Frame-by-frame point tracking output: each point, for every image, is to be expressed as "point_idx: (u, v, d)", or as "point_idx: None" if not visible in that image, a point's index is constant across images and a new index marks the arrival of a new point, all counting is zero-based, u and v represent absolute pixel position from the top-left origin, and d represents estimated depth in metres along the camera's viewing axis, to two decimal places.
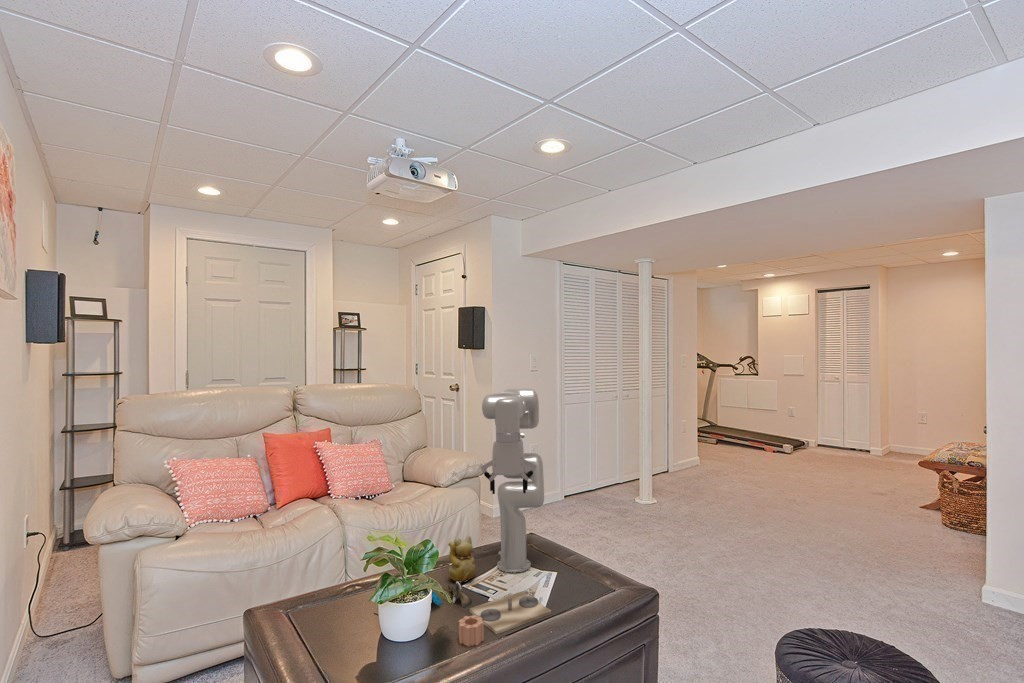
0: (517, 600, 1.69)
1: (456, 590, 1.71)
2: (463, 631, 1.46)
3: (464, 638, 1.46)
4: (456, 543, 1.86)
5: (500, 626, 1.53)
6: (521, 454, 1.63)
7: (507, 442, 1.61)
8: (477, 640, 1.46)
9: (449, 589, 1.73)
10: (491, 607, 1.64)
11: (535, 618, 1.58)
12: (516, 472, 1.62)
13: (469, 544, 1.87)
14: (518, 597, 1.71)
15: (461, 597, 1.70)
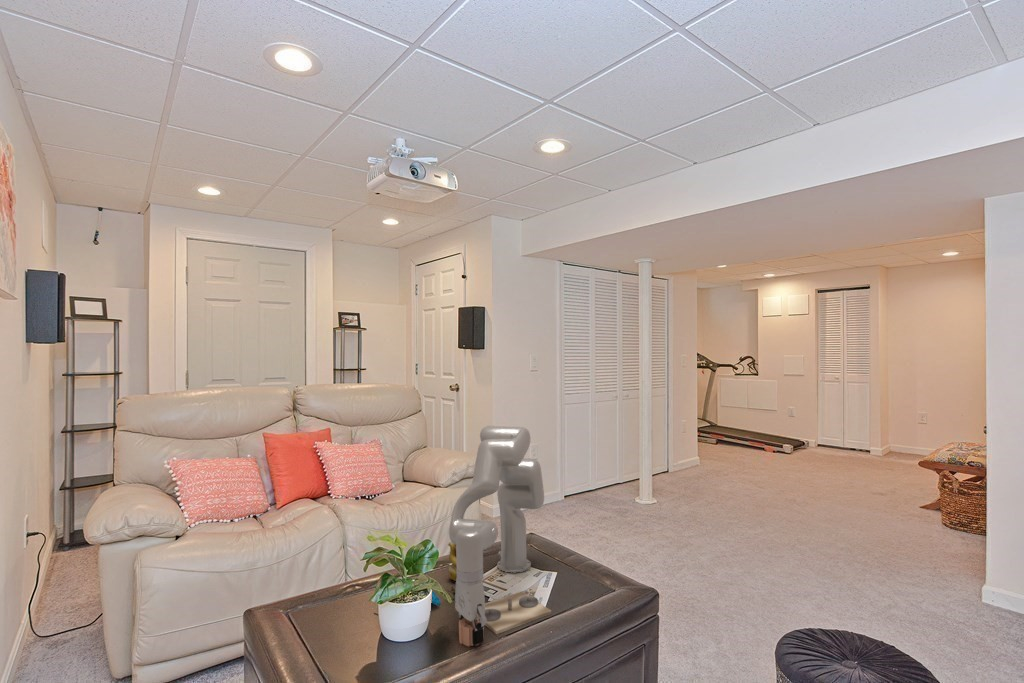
0: (517, 600, 1.69)
1: None
2: (463, 631, 1.46)
3: (464, 638, 1.46)
4: None
5: (500, 626, 1.53)
6: None
7: None
8: None
9: (452, 590, 1.72)
10: (491, 607, 1.64)
11: (535, 618, 1.58)
12: None
13: None
14: (518, 597, 1.71)
15: None
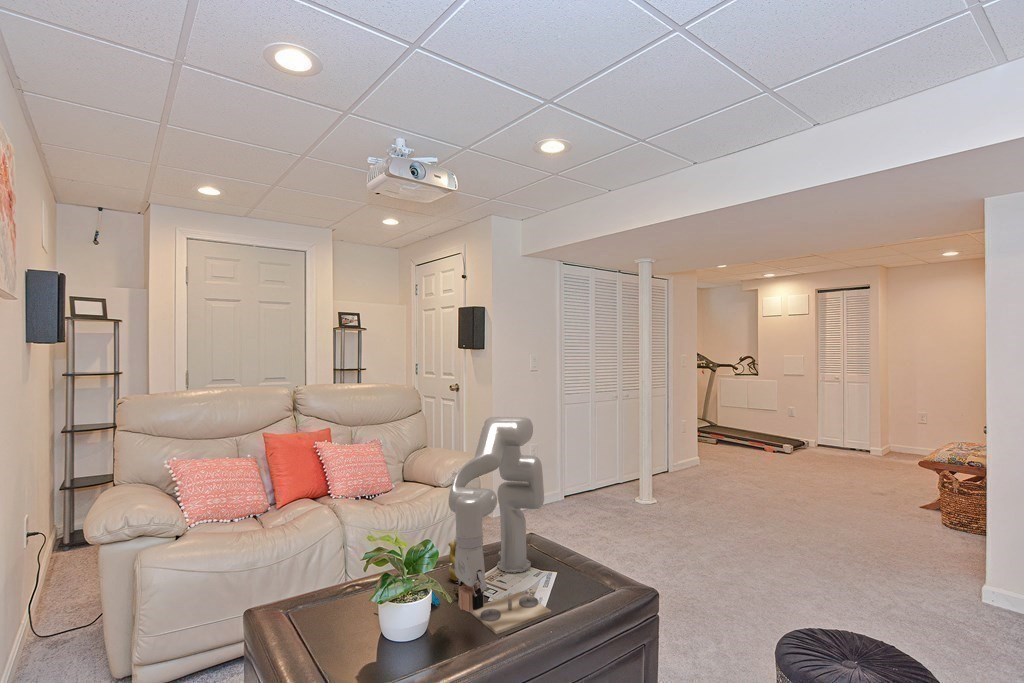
0: (517, 600, 1.69)
1: None
2: (463, 597, 1.47)
3: (464, 604, 1.46)
4: None
5: (500, 626, 1.53)
6: None
7: None
8: None
9: (454, 591, 1.71)
10: (491, 607, 1.64)
11: (535, 618, 1.58)
12: None
13: None
14: (518, 597, 1.71)
15: None
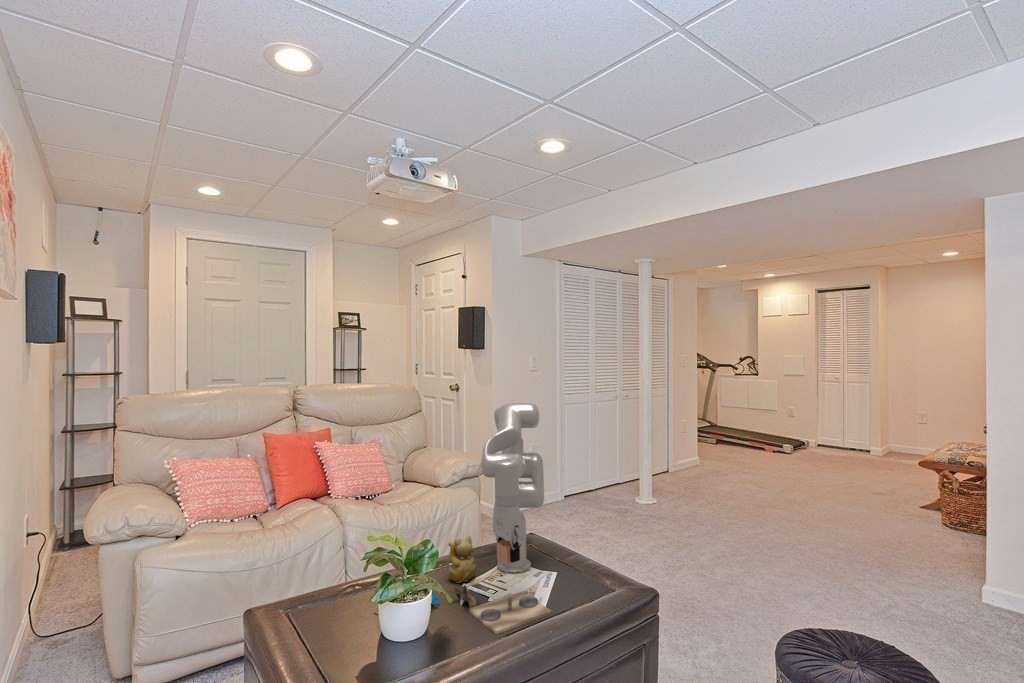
0: (517, 600, 1.69)
1: (463, 592, 1.69)
2: (501, 550, 1.61)
3: (502, 557, 1.60)
4: (456, 543, 1.86)
5: (500, 626, 1.53)
6: None
7: None
8: None
9: (456, 592, 1.71)
10: (491, 607, 1.64)
11: (535, 618, 1.58)
12: None
13: (469, 544, 1.87)
14: (518, 597, 1.71)
15: (469, 599, 1.68)
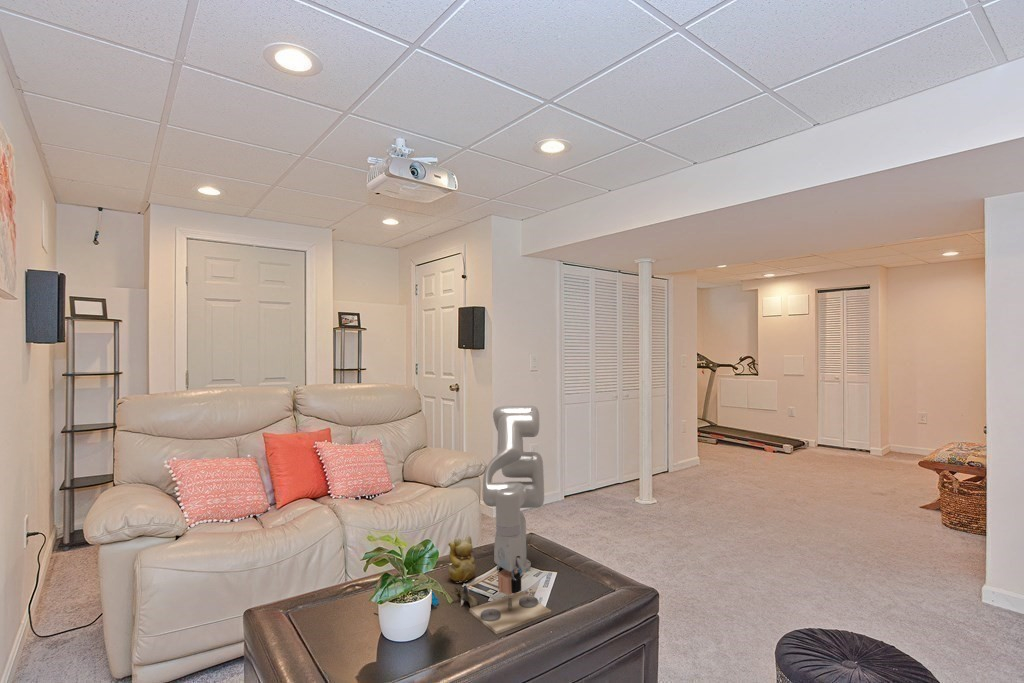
0: (517, 600, 1.69)
1: (464, 592, 1.69)
2: (502, 581, 1.60)
3: (503, 587, 1.60)
4: (456, 543, 1.86)
5: (500, 626, 1.53)
6: None
7: None
8: None
9: (456, 592, 1.71)
10: (491, 607, 1.64)
11: (535, 618, 1.58)
12: None
13: (469, 544, 1.87)
14: (518, 597, 1.71)
15: (469, 599, 1.68)
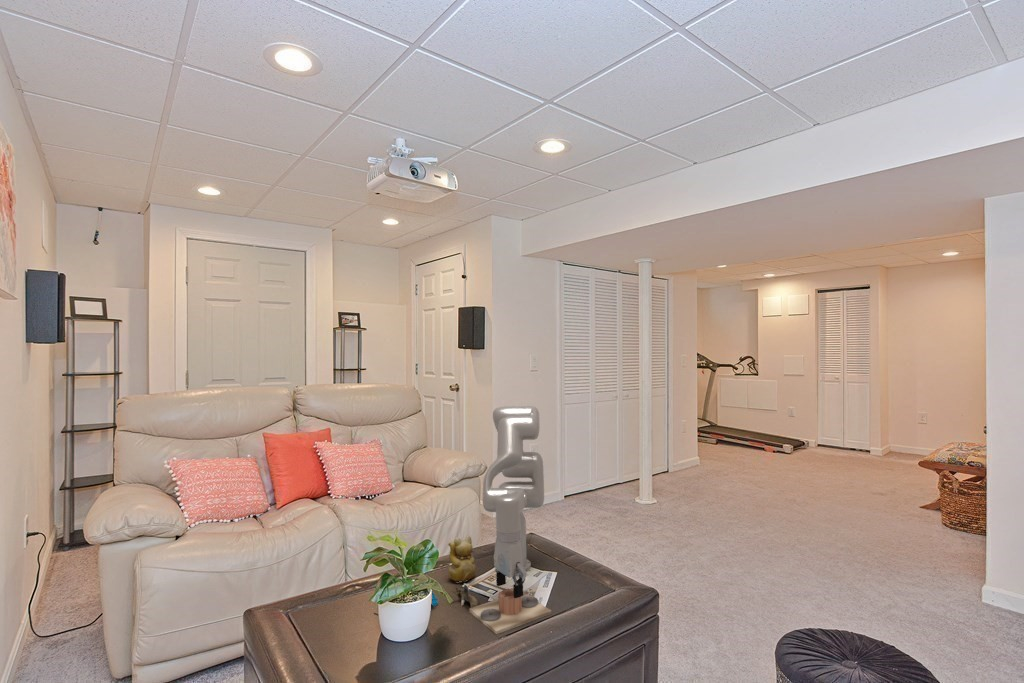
0: None
1: (464, 592, 1.69)
2: (503, 602, 1.60)
3: (504, 608, 1.60)
4: (456, 543, 1.86)
5: (500, 626, 1.53)
6: None
7: None
8: (516, 610, 1.60)
9: (457, 591, 1.71)
10: (491, 607, 1.64)
11: (535, 618, 1.58)
12: None
13: (469, 544, 1.87)
14: None
15: (470, 599, 1.68)
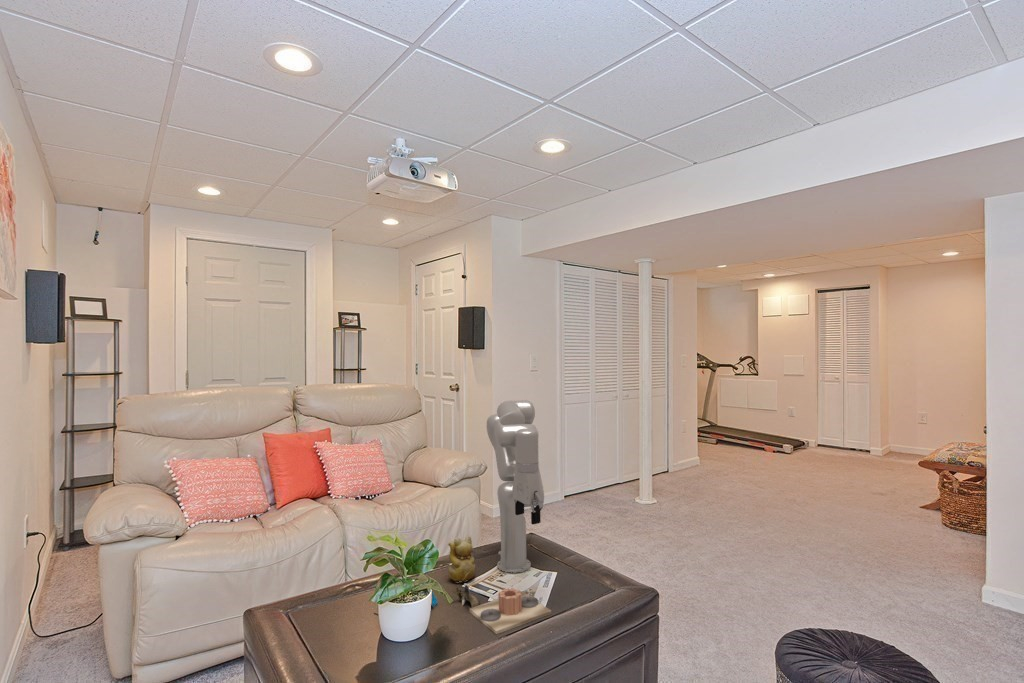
0: None
1: (465, 592, 1.70)
2: (503, 602, 1.60)
3: (504, 608, 1.60)
4: (456, 543, 1.86)
5: (500, 626, 1.53)
6: None
7: None
8: (516, 610, 1.60)
9: (457, 591, 1.71)
10: (491, 607, 1.64)
11: (535, 618, 1.58)
12: None
13: (469, 544, 1.87)
14: None
15: (470, 599, 1.68)
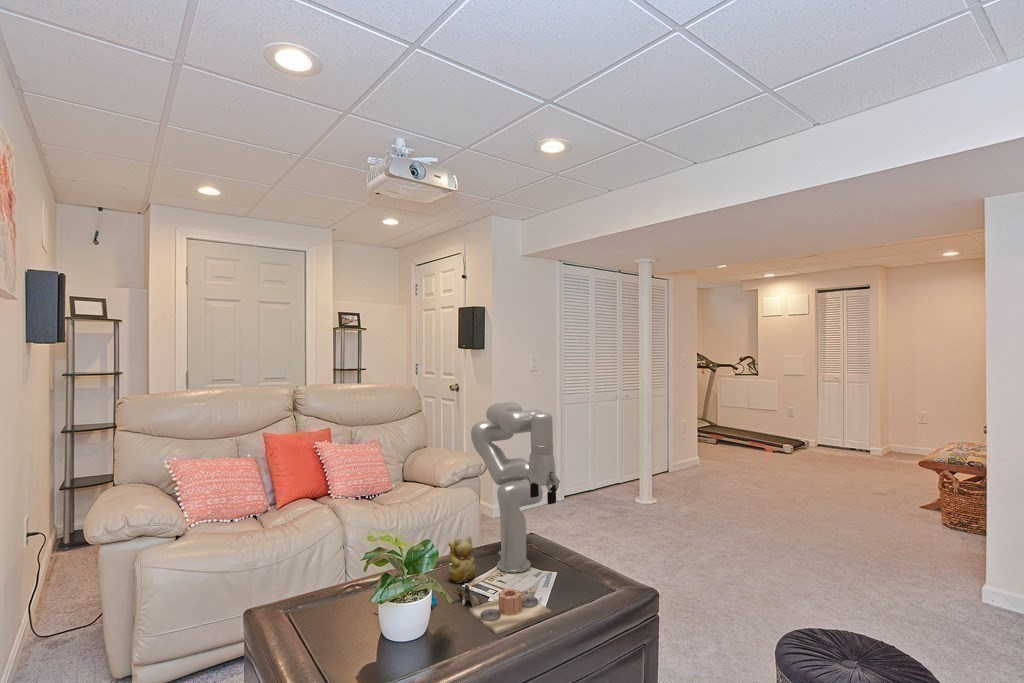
0: None
1: (465, 592, 1.70)
2: (503, 602, 1.60)
3: (504, 608, 1.60)
4: (456, 543, 1.86)
5: (500, 626, 1.53)
6: None
7: None
8: (516, 610, 1.60)
9: (458, 591, 1.71)
10: (491, 607, 1.64)
11: (535, 618, 1.58)
12: None
13: (469, 544, 1.87)
14: None
15: (471, 599, 1.68)
